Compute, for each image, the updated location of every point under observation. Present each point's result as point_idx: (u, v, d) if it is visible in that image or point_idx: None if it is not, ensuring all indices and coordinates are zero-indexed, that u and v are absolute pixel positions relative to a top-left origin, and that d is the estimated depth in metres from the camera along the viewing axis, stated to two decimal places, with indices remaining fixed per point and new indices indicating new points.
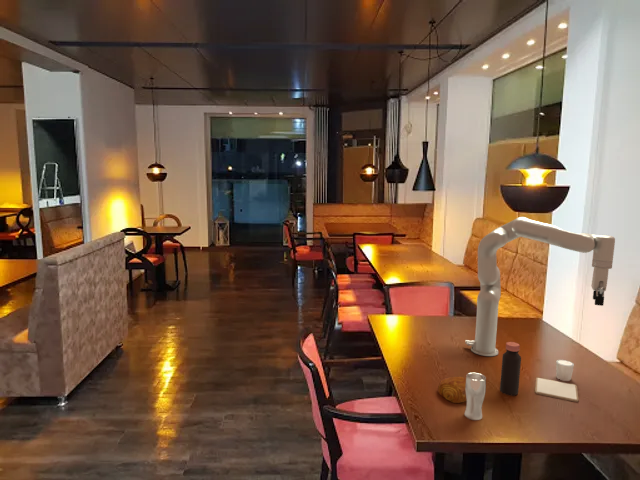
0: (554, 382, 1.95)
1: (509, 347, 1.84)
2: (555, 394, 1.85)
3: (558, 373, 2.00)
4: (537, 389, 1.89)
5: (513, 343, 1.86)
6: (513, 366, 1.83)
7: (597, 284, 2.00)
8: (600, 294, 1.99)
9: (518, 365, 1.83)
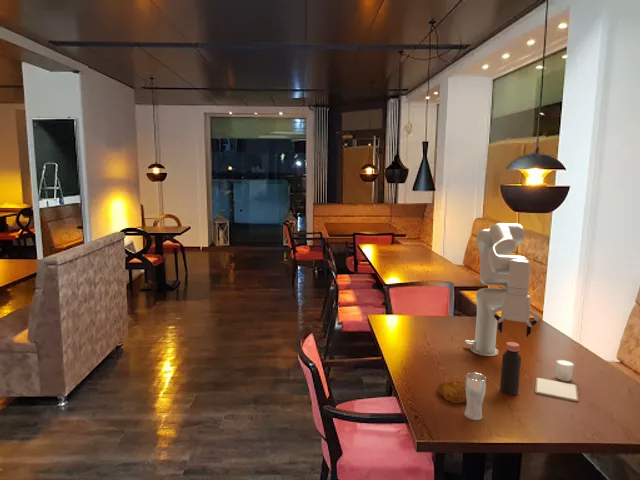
0: (554, 382, 1.95)
1: (509, 347, 1.84)
2: (555, 394, 1.85)
3: (558, 373, 2.00)
4: (537, 389, 1.89)
5: (513, 343, 1.86)
6: (513, 366, 1.83)
7: (529, 314, 1.80)
8: None
9: (518, 365, 1.83)
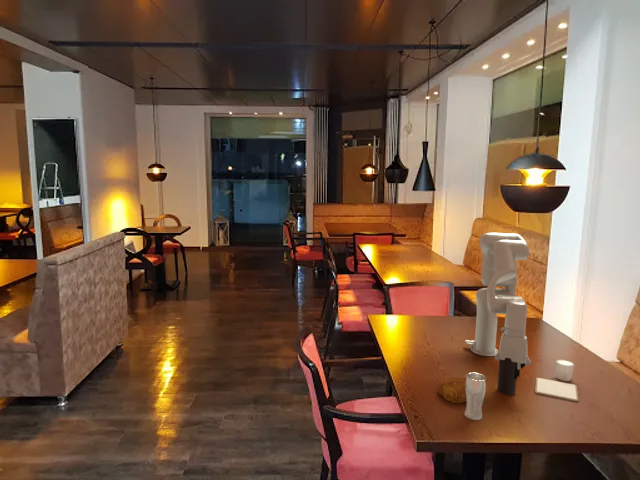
0: (554, 382, 1.95)
1: None
2: (555, 394, 1.85)
3: (558, 373, 2.00)
4: (537, 389, 1.89)
5: None
6: (509, 365, 1.83)
7: None
8: None
9: (514, 365, 1.83)
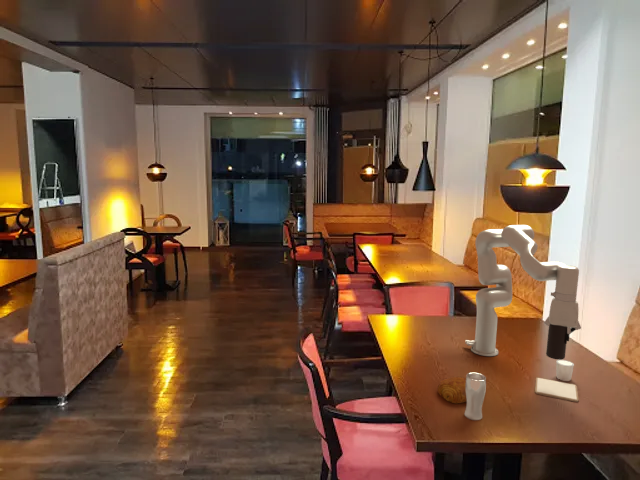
0: (554, 382, 1.95)
1: None
2: (555, 394, 1.85)
3: (558, 373, 2.00)
4: (537, 389, 1.89)
5: None
6: (558, 329, 1.85)
7: None
8: None
9: (564, 329, 1.84)
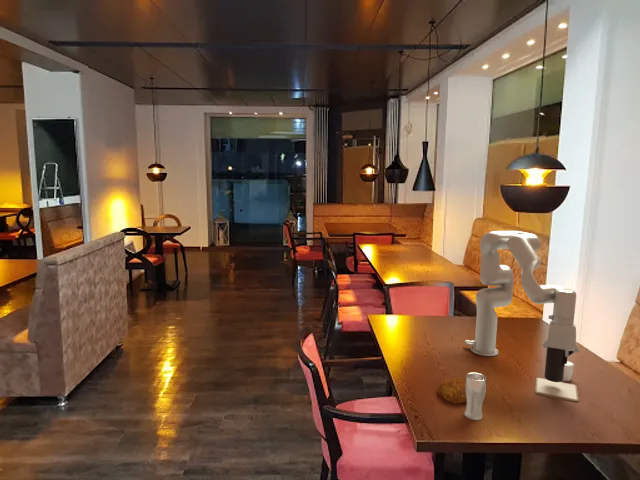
0: (554, 382, 1.95)
1: None
2: (555, 394, 1.85)
3: None
4: (537, 389, 1.89)
5: None
6: (556, 352, 1.86)
7: None
8: None
9: (562, 352, 1.86)
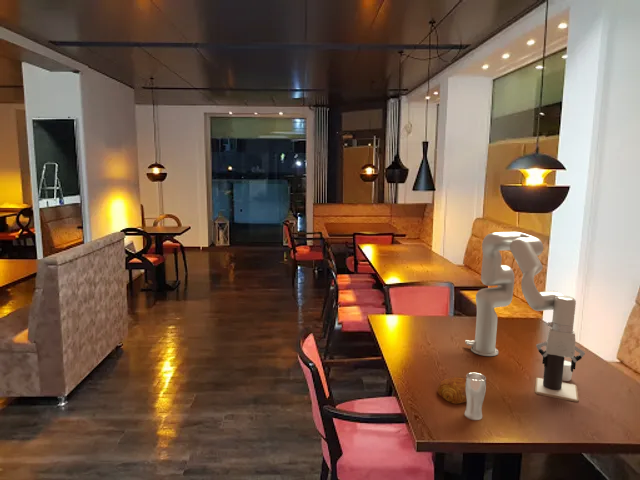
0: None
1: None
2: (555, 394, 1.85)
3: None
4: (537, 389, 1.89)
5: None
6: (554, 360, 1.87)
7: (574, 350, 1.84)
8: None
9: (560, 360, 1.86)
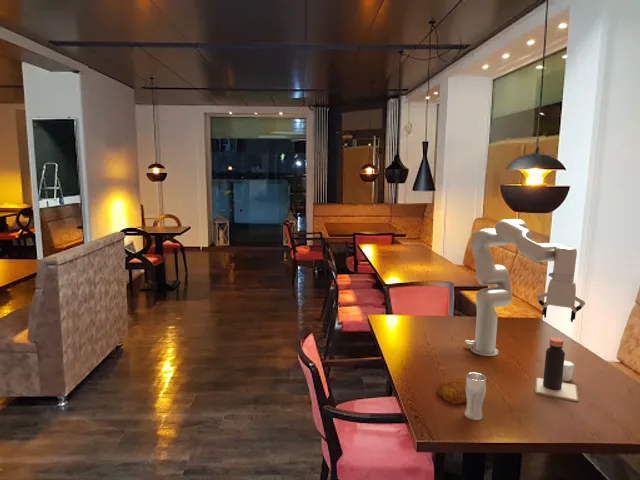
0: None
1: (552, 342, 1.88)
2: (555, 394, 1.85)
3: None
4: (537, 389, 1.89)
5: (557, 339, 1.89)
6: (554, 360, 1.87)
7: None
8: None
9: (560, 360, 1.86)
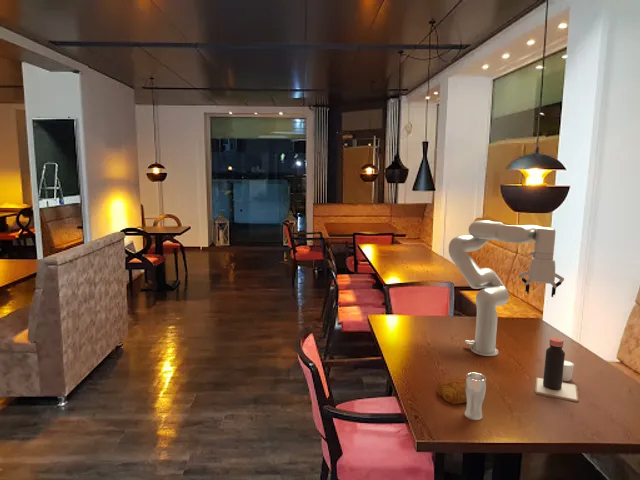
0: None
1: (551, 342, 1.88)
2: (555, 394, 1.85)
3: None
4: (537, 389, 1.89)
5: (557, 339, 1.89)
6: (554, 360, 1.87)
7: (554, 276, 2.00)
8: None
9: (560, 360, 1.86)
